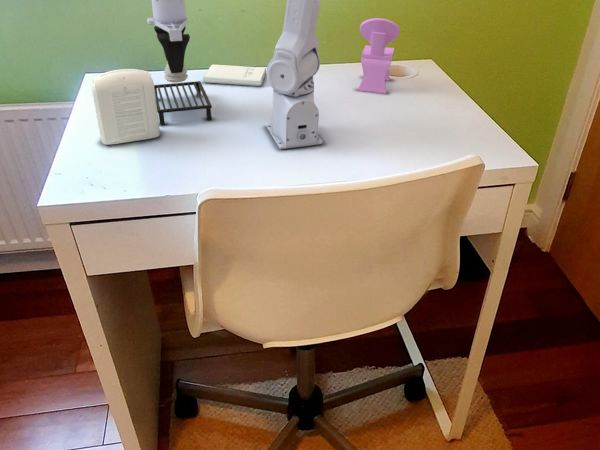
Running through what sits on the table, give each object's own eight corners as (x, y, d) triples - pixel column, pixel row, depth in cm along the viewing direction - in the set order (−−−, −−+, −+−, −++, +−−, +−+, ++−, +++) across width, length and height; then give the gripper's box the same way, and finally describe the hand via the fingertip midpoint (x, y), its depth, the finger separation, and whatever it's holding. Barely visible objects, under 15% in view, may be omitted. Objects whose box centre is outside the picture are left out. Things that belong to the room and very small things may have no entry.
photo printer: (157, 128, 101) (148, 62, 94) (163, 138, 98) (154, 70, 91) (99, 137, 98) (86, 69, 91) (103, 148, 95) (89, 78, 88)
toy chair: (394, 79, 125) (403, 11, 117) (391, 94, 118) (400, 22, 110) (358, 76, 127) (364, 8, 118) (352, 89, 120) (359, 18, 111)
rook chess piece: (168, 73, 107) (164, 31, 102) (191, 75, 107) (187, 33, 102) (161, 82, 103) (155, 39, 99) (184, 83, 103) (179, 40, 98)
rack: (212, 120, 105) (211, 105, 103) (159, 126, 102) (157, 111, 101) (201, 94, 115) (200, 80, 113) (152, 99, 112) (150, 85, 111)
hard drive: (212, 70, 127) (266, 73, 126) (204, 83, 120) (260, 86, 120) (212, 63, 126) (266, 66, 125) (203, 76, 119) (260, 79, 119)
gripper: (140, -17, 101) (149, 57, 108) (147, 3, 89) (157, 84, 97) (179, -18, 102) (185, 54, 110) (191, 1, 91) (197, 80, 99)
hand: (175, 68), depth 104 cm, fingers closed on rook chess piece, 3 cm apart
